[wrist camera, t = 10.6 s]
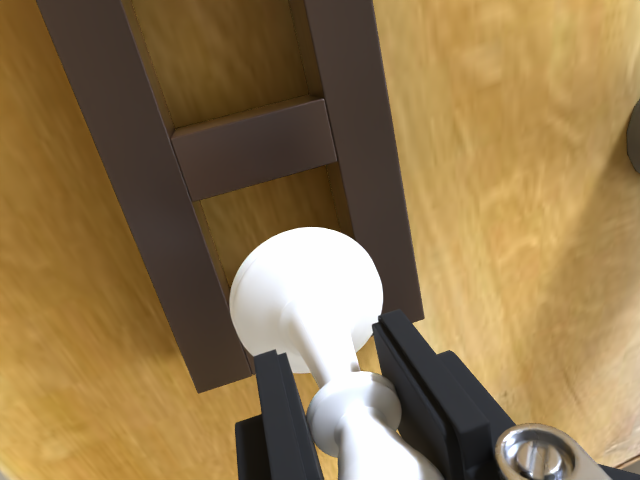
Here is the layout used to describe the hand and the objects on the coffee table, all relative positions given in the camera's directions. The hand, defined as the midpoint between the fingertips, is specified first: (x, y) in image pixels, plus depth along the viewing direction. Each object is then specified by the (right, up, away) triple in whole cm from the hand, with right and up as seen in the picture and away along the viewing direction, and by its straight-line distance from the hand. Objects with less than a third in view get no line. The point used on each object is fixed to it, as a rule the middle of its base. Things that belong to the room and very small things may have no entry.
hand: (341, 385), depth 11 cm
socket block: (-3, +8, +9) cm, 13 cm away
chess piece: (-1, +2, +4) cm, 5 cm away
